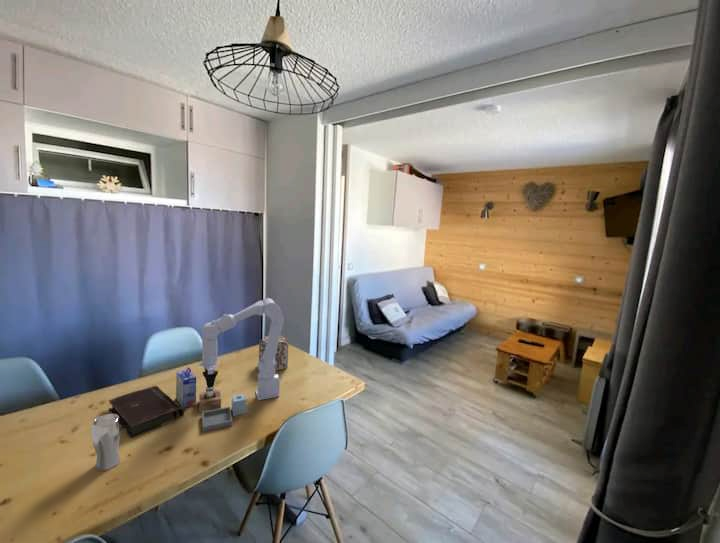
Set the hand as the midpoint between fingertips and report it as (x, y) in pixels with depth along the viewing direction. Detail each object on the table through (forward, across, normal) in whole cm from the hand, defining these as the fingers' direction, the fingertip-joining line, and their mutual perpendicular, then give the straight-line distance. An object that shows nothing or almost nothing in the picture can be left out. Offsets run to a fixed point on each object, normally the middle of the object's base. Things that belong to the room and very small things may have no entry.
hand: (210, 382), depth 135 cm
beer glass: (+10, +24, -30) cm, 40 cm away
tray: (+10, +13, +2) cm, 16 cm away
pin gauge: (+10, 0, 0) cm, 10 cm away
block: (+10, +9, +10) cm, 17 cm away
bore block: (+10, 0, 0) cm, 10 cm away
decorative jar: (+10, -27, +32) cm, 43 cm away
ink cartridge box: (+10, -6, -9) cm, 15 cm away
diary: (+11, -2, -23) cm, 26 cm away
